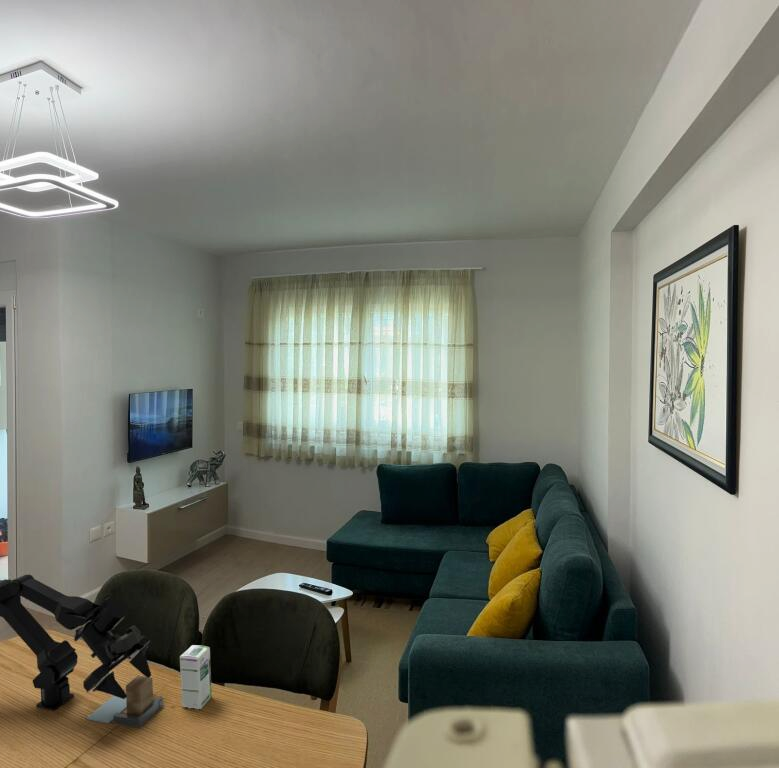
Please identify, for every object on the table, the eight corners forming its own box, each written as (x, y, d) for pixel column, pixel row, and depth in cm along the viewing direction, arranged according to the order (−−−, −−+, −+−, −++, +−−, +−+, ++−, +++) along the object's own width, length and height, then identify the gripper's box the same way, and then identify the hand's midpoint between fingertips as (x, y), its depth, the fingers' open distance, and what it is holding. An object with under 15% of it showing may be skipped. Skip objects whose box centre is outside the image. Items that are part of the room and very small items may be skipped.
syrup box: (200, 710, 143) (199, 657, 142) (180, 707, 144) (179, 655, 143) (212, 696, 148) (210, 646, 148) (192, 694, 150) (191, 643, 149)
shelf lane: (113, 723, 138) (113, 713, 138) (137, 701, 147) (137, 692, 147) (139, 728, 136) (139, 718, 136) (162, 705, 145) (162, 696, 145)
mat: (86, 719, 140) (86, 718, 140) (114, 695, 149) (114, 694, 149) (108, 723, 138) (108, 722, 138) (136, 699, 148) (135, 698, 148)
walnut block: (127, 719, 140) (125, 685, 139) (139, 707, 144) (137, 675, 144) (141, 721, 139) (140, 688, 138) (153, 710, 143) (152, 677, 142)
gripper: (90, 641, 132) (130, 690, 130) (142, 606, 150) (178, 649, 148) (65, 667, 135) (104, 716, 133) (120, 630, 153) (155, 673, 151)
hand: (138, 686), depth 141 cm, fingers open, 9 cm apart
